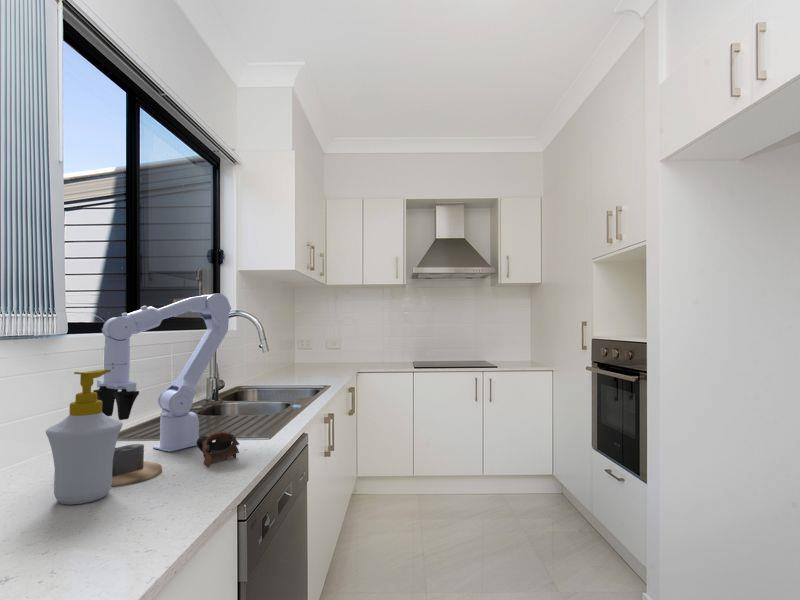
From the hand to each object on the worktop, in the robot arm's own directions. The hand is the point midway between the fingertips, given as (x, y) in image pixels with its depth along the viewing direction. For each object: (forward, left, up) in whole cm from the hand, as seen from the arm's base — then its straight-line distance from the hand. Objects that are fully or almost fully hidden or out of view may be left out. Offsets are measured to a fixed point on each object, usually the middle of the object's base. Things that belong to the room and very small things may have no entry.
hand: (115, 417), depth 124 cm
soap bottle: (+19, +24, -10) cm, 32 cm away
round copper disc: (+7, +16, -10) cm, 20 cm away
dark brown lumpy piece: (-11, +26, -10) cm, 30 cm away
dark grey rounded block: (+8, +16, -9) cm, 20 cm away
